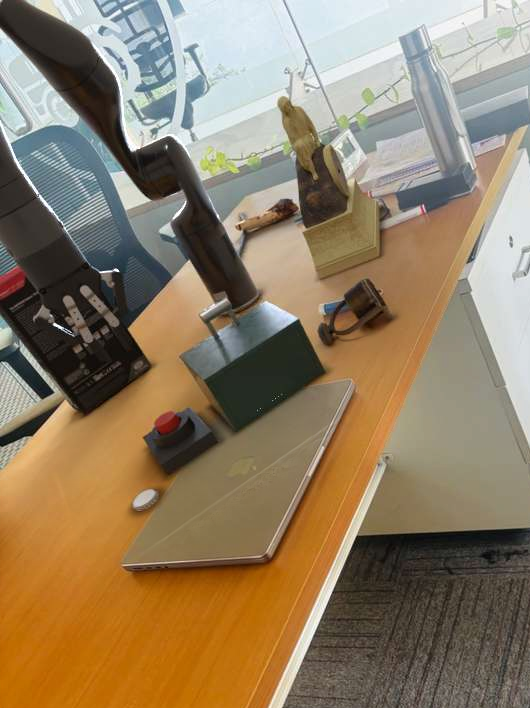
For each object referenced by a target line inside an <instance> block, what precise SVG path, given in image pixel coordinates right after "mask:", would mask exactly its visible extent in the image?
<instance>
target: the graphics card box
mask: <svg viewBox="0 0 530 708" xmlns="http://www.w3.org/2000/svg"><path fill="white" fill-rule="evenodd" d="M101 302H102V303H103V304H104V305H105V306H106V307H107V308H108V309H109V310H110V311H111V313H112V312H113V311H114V309H115V307H114V306H113V305H112V303H111V302H110V301H109V299H108V297H107V296H106V294H105V293H104V291H103V289H101ZM42 305H43V304H42V302H41V298H40V294H39V293H38V291H37V290H36V288H35V287H34V286H33V284H32V283H31V282H30V280H29V279H28V278H27V276H26V275H25V274H24V272H23V271H22V270H21V268H20V267H19V266H18V265H17V266H15V267H13V268H12V269H10V270H8V271H7V272H5V273H3V274H2V275H0V317H1V319H3V320H4V322H5V323H6V324H7V325H8V327H9V328H10V330H11V331H12V332H13V333H14V335H15V336H16V338H17V339H19V341H20V342H21V343H22V344H23V345H24V347H25V349H26V350H27V351H28V352H29V354H30V355H31V356H32V358H33V359H34V360H35V362H36V363H37V364H38V365H39V366H40V368H41V369H42V370H43V372H44V373H45V374H46V376H47V377H48V378H49V379H50V381H51V382H52V383H53V385H54V386H55V387H56V388H57V390H58V391H59V392H60V394H61V395H62V396H63V398H65V400H66V402H67V403H68V404H69V405H70V406H71V408H72V409H74V410H75V411H77V412H79V413H81V414H83V415H86V414H88V413H89V412H90V411H92V410H94V408H96V407H97V406H99V405H100V404H102V403H103V402H104V401H105V400H107V399H109V398H110V397H111V396H112V395H114V394H115V393H117V392H118V391H119V390H121V389H122V388H124V387H125V386H127V385H128V384H129V383H131V382H132V381H134V379H136V378H138V377H140V375H142V374H143V373H144V372H146V371H147V370H149V369H150V368H151V367H152V363H151V362H150V360H149V359H148V357H147V356H146V354H145V353H144V351H143V349H142V348H141V346H140V345H139V344H138V342H137V341H136V339H135V338H134V337H133V336H134V335H132V333H131V331H130V330H129V329H128V327H127V326H126V324H125V322H124V321H123V319H122V320H121V325H122V326H123V328H124V329H125V331H126V332H127V334H128V335H129V337H130V338H131V339H132V343H133V344H131V345H130V347H131V348H132V349H131V350H129V351H127V350H126V349H125V347H124V346H123V344H122V343H121V342H120V340H119V339H118V337H117V336H116V334H115V333H114V332H113V330H112V329H111V327H110V326H111V325H110V323H109V322H108V321H107V320H106V319H105V318H104V317H103V316H102V315H101V314H100V313H99V312H98V311H97V309H94V310H90V311H88V312H87V313H86V314H85V315H84V316H82V317H83V319H84V321H85V323H86V325H87V327H88V329H89V331H90V333H91V334H92V336H95V337H96V339H97V340H98V342H99V343H100V344H101V346H102V347H103V348H104V350H105V351H106V353H107V354H108V355H109V357H110V358H111V359H112V362H110V363H109V364H108V362H107V361H106V360H105V361H104V362H102V361H100V360H99V359H98V357H97V356H96V355H95V353H94V352H93V351H92V349H91V348H90V347H89V345H88V344H85V343H82V344H78V345H77V346H72V345H70V344H68V343H67V342H65V341H63V340H61V339H59V338H57V337H56V336H54V335H52V334H50V333H48V332H47V331H45V330H43V329H41V328H39V327H37V326H36V325H35V323H34V321H33V316H34V315H36V314H38V312H39V310H40V309H41V307H42ZM50 315H52V316H53V318H54V323H56V324H57V325H59V326H61V327H63V328H64V329H66V330H68V331H70V332H72V333H78V332H79V330H78V329H77V327H76V325H75V323H74V321H73V320H72V318H70V317H67V316H64V315H62V314H59V313H57V312H54V311H51V310H50Z"/></svg>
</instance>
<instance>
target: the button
mask: <svg viewBox="0 0 530 708" xmlns="http://www.w3.org/2000/svg"><path fill="white" fill-rule="evenodd" d="M175 413H176V412H175V411H172V410H171V411H167V412H164V413H162V414H161V415H159V416H158V417H157V418H156V419H155V420H154V422H153V426H154V427H156V428H157V429H158V431H159V432H160V434H165V433H168V432H170V431H172V430H173V429H175V428H176V427H177V426H178V425H179V424H180V422H181V421H180V419H179V418H178V416H177V415H176V414H175Z"/></svg>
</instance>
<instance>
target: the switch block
mask: <svg viewBox="0 0 530 708" xmlns="http://www.w3.org/2000/svg"><path fill="white" fill-rule="evenodd" d="M175 414H176V415H177V416H178V418H179V419H180V421H181V422H180V424H179V425H178V426H177V427H176V428H175V429H173V430H172V431H170V432H168V433H165V434H160V432H159V431H158V429H157V428H156V427H155V426H154V427H152V430H150V431H149V432H148V433H147V434H145V435H143V436H142V439H143V441H144V442H145V444H146V445H147V447H148V448H149V450H150V451H151V453H152V455H153V456H154V458H155V459H156V461H157V463H158V465H159V466H160V468H162V470H163V471H164V473H166V475H167V476H170V475H172V474H173V473H175V472H176V471H177V470H179V469H181V468H182V467H183V466H185V465H186V464H188V463H190V462H191V461H192V460H194V459H196V458H197V457H199V456H200V455H202V454H203V453H205V452H206V451H208V450H209V449H211V448H212V447H214V446H215V445H217V444H218V443H219V441H218V439H217V437H216V436H215V435H214V433H213V432H212V429H210V428H209V427H208V426H207V424H206V423H205V422H204V421H203V419H201V418H200V416H199V415H198V414H197V413H196V411H194V409H192V407H191V406H188V407H186V408H185V409H183V410H182V411H178V412H175Z"/></svg>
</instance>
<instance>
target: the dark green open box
mask: <svg viewBox="0 0 530 708" xmlns="http://www.w3.org/2000/svg"><path fill="white" fill-rule="evenodd" d="M183 364H184V365H185V367H186V369H187V370H188V372H189V373H190V374H191V377H192V378H193V380H194V381H195V382H196V384H197V385H198V388H199V389H200V390H201V392H202V393H203V395H204V396H205V398H206V399H207V401H208V402H209V404H210V405H211V406H212V408H213V409H214V410H215V411H216V412H217V413H218V414H219V415H220V416H221V417H222V418H223V419H224V420H225V421H226V422H227V424H229V425H230V427H231V428H232V429H233V430H234V431H235V432H238V431H240V430H241V429H243V428H244V427H246V426H247V425H249V424H250V423H252V422H253V421H254V420H256V419H258V418H259V417H260V416H263V415H264V414H265V413H266V412H268V411H270V410H272V409H273V408H275V406H277V405H279V404H280V403H282V402H283V401H284V400H286V399H287V398H289V397H291V396H293V395H294V394H295V393H296V392H298V391H300V390H301V389H302V388H304V387H306V386H307V385H309V384H311V383H312V382H313V381H315V380H316V379H318V378H319V377H321V376H322V375H324V374H325V373H326V369H325V368H324V366H323V364H322V362H321V360H320V358H319V356H318V354H317V352H316V350H315V348H314V346H313V344H312V342H311V340H310V337H309V336H308V334H307V332H306V331H305V328H304V326H303V324H302V322H301V323H300V324H299V325H297V326H296V327H294V328H293V329H291V330H290V331H288V332H286V333H285V334H283V335H282V336H280V337H279V338H277V339H276V340H274V341H273V342H271V343H269V344H268V345H266V346H265V347H263V348H262V349H260V350H259V351H257V352H256V353H254V354H252V355H251V356H249V357H248V358H246V359H245V360H243V361H242V362H240V363H239V364H237V365H235V366H234V367H232V368H231V369H229V370H228V371H226V372H225V373H223V374H222V375H220V376H218V377H217V378H215V379H214V380H212V381H211V382H209V383H208V384H205V383H204V382H203V381H202V380H201V379H200V378H199V377H198V376H197V375H196V374H195V373H194V372H193V371H192V370H191V369H190V368H189V367H188V366H187V365H186V364H185V363H184V362H183ZM281 394H282V395H281ZM278 396H279V397H278ZM275 398H276V399H275ZM272 400H273V401H272ZM260 408H261V409H260ZM257 410H258V411H257Z"/></svg>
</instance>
